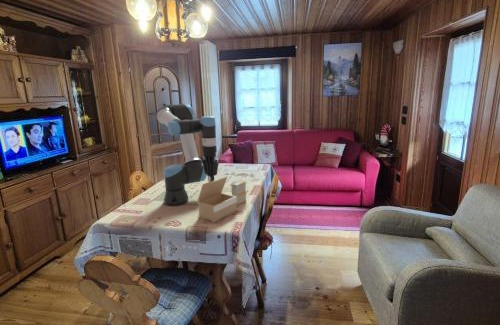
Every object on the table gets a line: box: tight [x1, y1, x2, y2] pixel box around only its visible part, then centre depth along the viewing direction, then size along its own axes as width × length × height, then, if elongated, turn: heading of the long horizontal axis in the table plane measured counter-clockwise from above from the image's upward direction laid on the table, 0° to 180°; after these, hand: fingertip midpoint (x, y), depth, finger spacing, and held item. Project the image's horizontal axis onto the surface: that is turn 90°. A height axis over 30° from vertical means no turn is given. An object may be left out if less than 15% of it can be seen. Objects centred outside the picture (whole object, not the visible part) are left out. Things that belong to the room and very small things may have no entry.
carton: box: [197, 192, 238, 223], centre depth 158 cm, size 12×18×9 cm
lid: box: [197, 175, 228, 203], centre depth 158 cm, size 12×18×1 cm
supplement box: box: [230, 180, 247, 206], centre depth 174 cm, size 8×5×13 cm, turn 141°
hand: (211, 186), depth 158 cm, fingers closed
